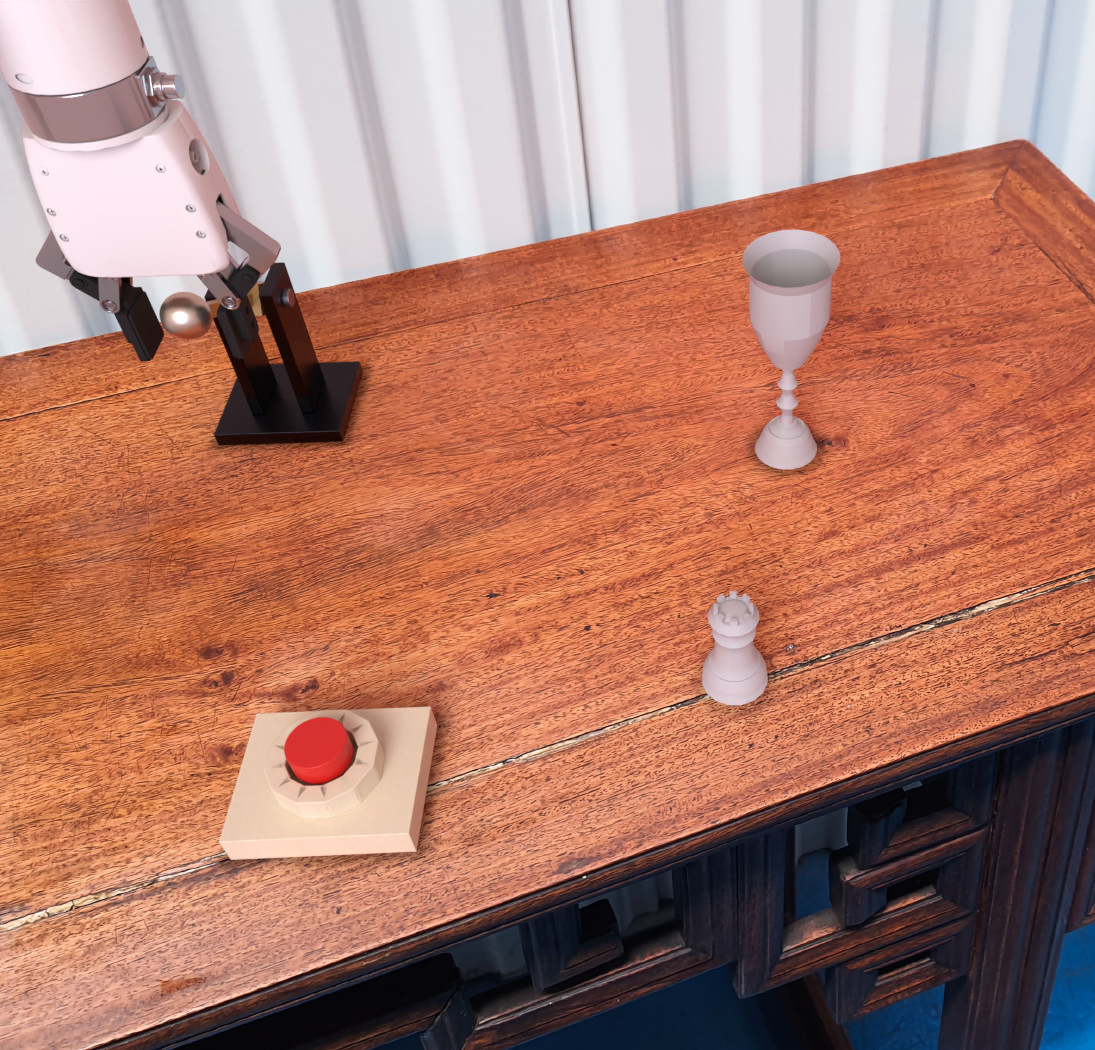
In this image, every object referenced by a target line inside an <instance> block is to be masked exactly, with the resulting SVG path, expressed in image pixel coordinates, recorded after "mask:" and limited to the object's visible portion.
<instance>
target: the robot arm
mask: <svg viewBox="0 0 1095 1050" xmlns="http://www.w3.org/2000/svg"><path fill="white" fill-rule="evenodd" d="M0 71H1V73H2V74H1V75H2V76H3V78H4V80H5V82H6V84H7V86H8V88H9V90H10V92H11V95H12V96H13V98H14V100H15V103H16V105H17V107H18V109H19V111H20V113H21V116H22V117H23V119H24V122H23V125H22V127H21V129H20V130H21V131H20V132H21V133H20V134H21V138H22V143H23V144H22V145H23V147H24V148H23V149H24V152H25V158H26V162H27V165H28V168H29V172H30V176H31V179H32V182H33V185H34V189H35V191H36V195H37V197H38V200H39V202H40V205H41V208H42V211H43V212H44V215H45V217H46V221H47V223H48V224H49V228H50V231H49V233H48V235H47V237H46V239H45V240H44V243H43V244H42V246H41V248H40V250H39V252H38V253H37V256H36V257H35V263H36V264H37V266H38V267H40V268H41V269H43V270H45V271H47V272H49V273H51V274H52V275H54V276H56V277H58V278H60V279H62V280H64V281H66V280H67V281H69V284H70V285H71V286H72V287H73V288H75V289H77V290H78V291H80V292H82V293H84V294H85V295H87V296H88V297H91V298H93V299H94V300H96V301H98V302H99V306H100V308H101V309H102V310H103V311H104V312H106V313H109V314H113V315H114V317H115V320H116V321H117V323H118V325H119V327H120V329H121V332H122V333H123V336H124V338H125V340H126V342H127V343H128V344H130V345H132V347H133V349H134V351H135V354H136V356H137V357H138V360H139V361H140V362H151V361H152V360H153V359H154V358H155V356H156V353H157V352H158V350H159V348H160V345H161V343H162V341H163V340H164V337H165V332H164V329H163V326H162V324H161V321H160V319H158V316H157V314H156V311H155V309H154V307H153V304H152V302H151V300H150V298H149V296H148V294H147V291H145V290H143V287H142V286H134V280H133V279H134V278H148V277H149V278H151V277H153V278H154V277H181V276H182V277H183V276H185V277H186V276H196V277H197V278H198V279H199V280H200V282H201V283H202V284H203V285H204V286H205V287H206V289H207V290H209V291H210V292H211V293H212V294H213V295H214V297H215V298H216V299H217V300H218V301H219V302H220V305H219V307H218V310H217V317H218V320H219V322H220V325H221V327H222V330H223V332H224V335H225V337H226V339H227V342H228V344H229V347H230V349H231V352H232V354H233V356H234V357H236V358H237V359H242V358H246V357H247V354H248V352H249V349H250V347H251V344H252V342H253V340H256V339H257V336H258V333H259V331H260V326H259V323H258V320H257V318H256V317H257V316H255V314H254V312H253V309H252V307H251V304H250V301H249V299H248V296H247V294H248V293H249V292H250V290H251V289H252V288H253V287H254V285H255V284H256V283H257V282H259V279H261V278H262V276H263V275H265V274H266V272H267V271H269V269H270V267H271V266H272V265H273V264H274V263H276V262H277V260H278V257H279V255H280V252H281V250H282V246H281V243H279V242H278V241H277V240H275V239H274V238H273V237H271V236H270V235H268V234H267V233H265V232H264V231H262V229H260V228H258V227H257V226H255V225H254V224H253V223H251V222H250V221H248V220H246V219H245V218H244V217H243V216H242V213H241V212H240V209H239V207H238V204H237V201H236V199H235V197H234V194H233V193H232V190H231V188H230V186H229V184H228V181H227V179H226V177H225V175H224V173H223V171H222V168H221V167H220V164H219V162H218V161H217V159H216V157H215V154H214V153H213V151H212V149H211V147H210V146H209V143H208V142H207V140H206V138H205V136H204V135H203V133H202V131H201V129H200V128H199V127H198V125H197V123H196V122H195V120H194V118H193V117H192V115H191V114H190V112H189V111H188V109H187V108H186V107H185V105H184V104H183V102H181V99H184V98H185V95H186V91H185V90H186V89H185V83H184V81H183V78H182V77H181V76H180V75H179V74H168V73H166V72H165V71H160V70H159V68H158V66H157V63H156V60H155V57H154V55H150V54H149V51H148V47H147V46H146V43H145V40H144V38H143V36H142V33H141V31H140V28H139V26H138V23H137V20H136V17H135V15H134V12H133V10H132V7H131V4H130V2H129V0H0ZM229 242H231V243H232V244H233V245H235V246H237V247H238V248H240V249H241V250H243V251H244V252H246V254H248V256H246V257H245V258H244V260H242V262H241V263H240V264H239V263H238V262H237V260H236V259H235V258H234V257H233V256H232V254H231V253H230V252H229Z"/></svg>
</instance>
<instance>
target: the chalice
mask: <svg viewBox="0 0 1095 1050" xmlns="http://www.w3.org/2000/svg"><path fill="white" fill-rule="evenodd" d="M741 262H742V263H741V264H742V266H743V268H744V269H745V271H746V274H747V275H748V278H749V322H750V324H751V326H752V329H753V331H754V334H755V336H756V339H757V341H758V343H759V346H760V347H761V348H762V350H763V352H764V353H765V355H766V356H767V358H768V360H769V361H770V363H771V364H772V366H773V367H775V368H776V369H778V370H781V371H782V372H781V376H780V379H779V380H777V386H778V388H779V389H780V391H781V394H780V396H778V397H777V398H776V400H775V404H776V406H777V407H778V408H779V409H780V413H781V414H780V415H777V416H775V417H773V418H772V419H771V420H769V421H768V422H767V423H766V424H765V426H764V427H763V430H762V431H761V433H760V435H759V437H757V440H756V442H755V443H754V444H755V445H754V453H755V454H756V456H757V459H758V460H760V461H761V462H762V463H763V464H764V465H766V466H769V467H770V468H773V469H778V470H784V471H785V470H796V469H800V468H803V467H804V466H807V465H808V464H810V463H811V462H812V461H813V460H814V459H815V458H816V455H817V453H818V445H817V442H816V441H815V439H814V437H813V434H812V432H811V431H810V428H809V426H808V425H807V423H806V422H805V421H804V420H802V419H801V418H799V417H797V416H795V415H794V414H793V412H794V410H795V408H797V406H798V405H799V399H798V397H796V396H795V394H794V391H795V389H796V388H797V387H798V385H799V381H798V380H797V378H796V376H795V370H798V369H800V368H802V367H803V366H804V365H805V364H806V363H807V361H808V359H810V357H811V355H812V353H814V350H815V349H816V347H817V346H818V344H819V342H820V341H821V338H822V336H823V334H824V332H825V329H826V327H827V326H828V323H829V321H830V318H831V306H832V290H833V289H832V287H833V286H832V285H833V276H834V274H835V273H836V271H837V269H838V267H839V265H840V263H841V252H840V250H839V248H838V247H837V245H836V244H835V243H834V242H833V241H831V239H829V238H828V237H826V236H825V235H822V234H819V233H817V232H814V231H810V230H805V229H804V230H802V229H782V230H776V231H771V232H768V233H766V234H764V235H762V236H759V237H757V238H755V239H754V240H753V241H751V242H750V244H748V245H747V246H746V248H745V249H744V251H743V253H742V260H741Z"/></svg>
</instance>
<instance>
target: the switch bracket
mask: <svg viewBox="0 0 1095 1050" xmlns="http://www.w3.org/2000/svg"><path fill="white" fill-rule="evenodd" d="M267 271H268V272H267V274H266V276H265V279H264V283H263V286H262V288H261V291H260V293H259V299H260V301H261V304H262V307H263V310H264V312H265V315H264V316H265V318H266V320H267V324H268V327H269V329H270V331H271V334H272V337H273V338H274V342H275V345H276V347H277V350H278V353H279V356H280V358H281V361H282V363H271V362H270V360H269V358H268V354H267V352H266V349H265V346H264V344H263V341H262V338H261V336H260V334H259V333H258V336H257V339H256V340H253V342H252V344H251V347H250V349H249V352H248V354H247V357H246V358H242V359H237V358H236V357H234V356H233V354H232V352H231V349H230V347H229V344H228V342H227V339H226V337H225V335H224V332H223V330H222V327H221V325H220V322H219V320H218V317H215V318H212V321H213V322H214V324H215V327H216V330H217V332H218V335H219V336H220V340H221V342H222V344H223V347H224V349H225V352H226V354H227V356H228V359H229V362H230V364H231V366H232V368H233V371H234V373H235V376H236V379H235V381H234V383H233V386H232V388H231V391H230V393H229V396H228V399H227V401H226V403H225V406H224V408H223V411H222V414H221V416H220V418H219V421H218V423H217V425H216V428H215V431H214V433H213V437H214V439H215V441H216V443H217V445H218V446H245V445H247V446H249V445H277V444H278V445H279V444H280V445H281V444H307V443H335V442H336V443H337V442H338V443H340V442H343V441H344V438H345V434H346V431H347V427H348V424H349V421H350V418H351V414H352V410H353V407H354V404H355V400H356V396H357V394H358V390H359V386H360V383H361V380H362V376H363V373H364V371H363V367H362V365H361V362H360V361H359V360H357V361H356V360H355V361H353V360H351V361H322V362H321V361H319V359H318V356H317V353H316V351H315V347H314V344H313V341H312V339H311V336H310V333H309V329H308V327H307V324H306V321H305V318H304V315H303V312H302V309H301V307H300V304H299V303H300V302H299V301H298V298H297V295H296V292H295V289H294V286H293V283H292V281H291V278H290V275H289V271H288V268H287V266H286V262H275V263H274V264H273V265H272V266H271V267H270V268H269V269H268V270H267ZM203 299H204V300H205V301H206V302H208V301H212V300H216V298H215V297H214V295H213V294H212V293H211V292H210V291H209V290H208V289H207V290H206V293H205V294H204V297H203Z"/></svg>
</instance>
